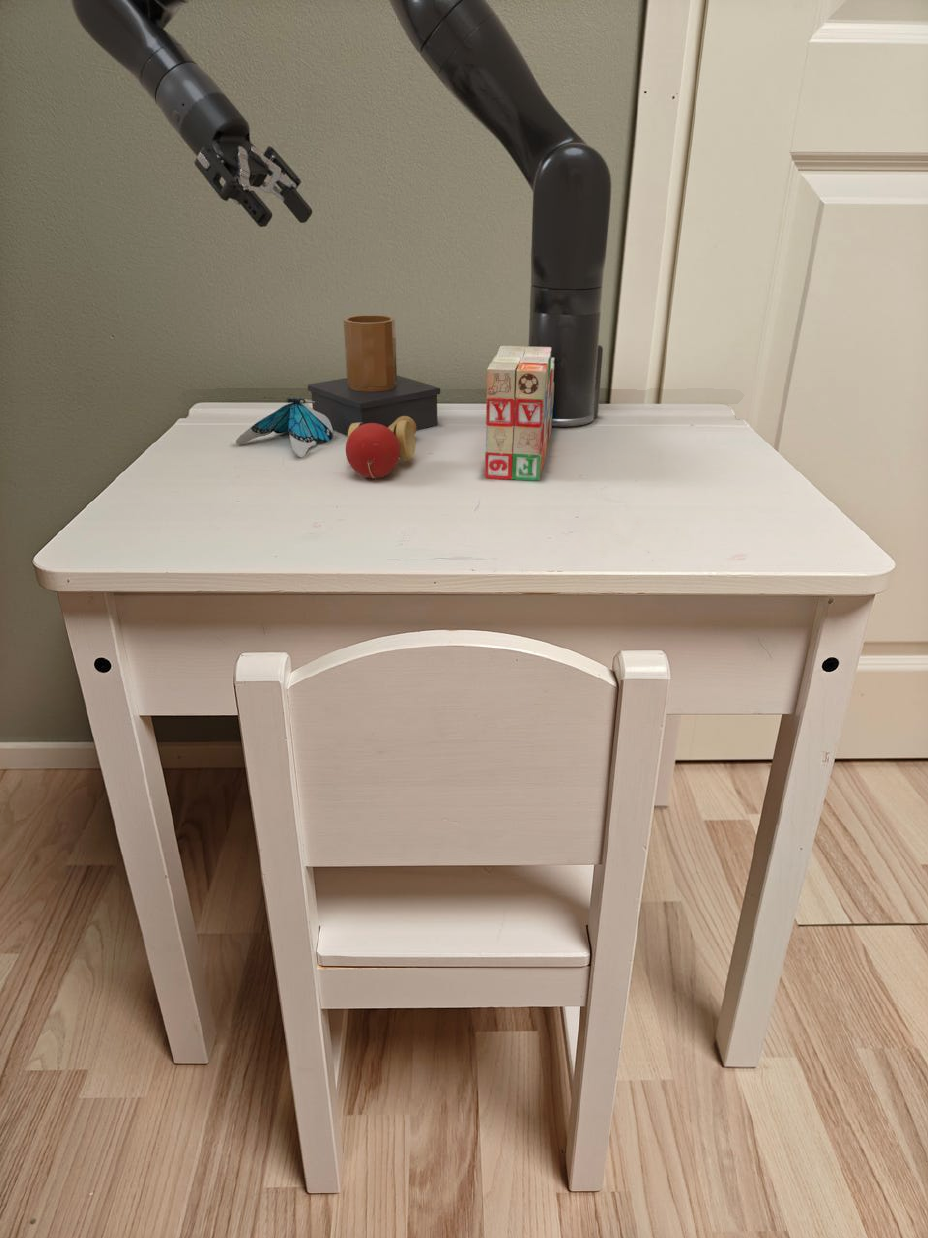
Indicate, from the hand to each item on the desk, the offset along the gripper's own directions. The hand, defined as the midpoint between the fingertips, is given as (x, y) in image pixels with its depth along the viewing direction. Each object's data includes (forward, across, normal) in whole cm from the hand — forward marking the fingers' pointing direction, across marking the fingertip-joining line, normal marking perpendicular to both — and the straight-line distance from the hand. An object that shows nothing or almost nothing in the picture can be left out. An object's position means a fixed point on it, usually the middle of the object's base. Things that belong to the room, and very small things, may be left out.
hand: (288, 219), depth 108 cm
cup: (+22, 0, +6) cm, 23 cm away
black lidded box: (+25, +1, +10) cm, 27 cm away
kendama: (+32, -13, +3) cm, 34 cm away
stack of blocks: (+41, -2, -6) cm, 42 cm away
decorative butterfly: (+22, -11, +14) cm, 28 cm away
